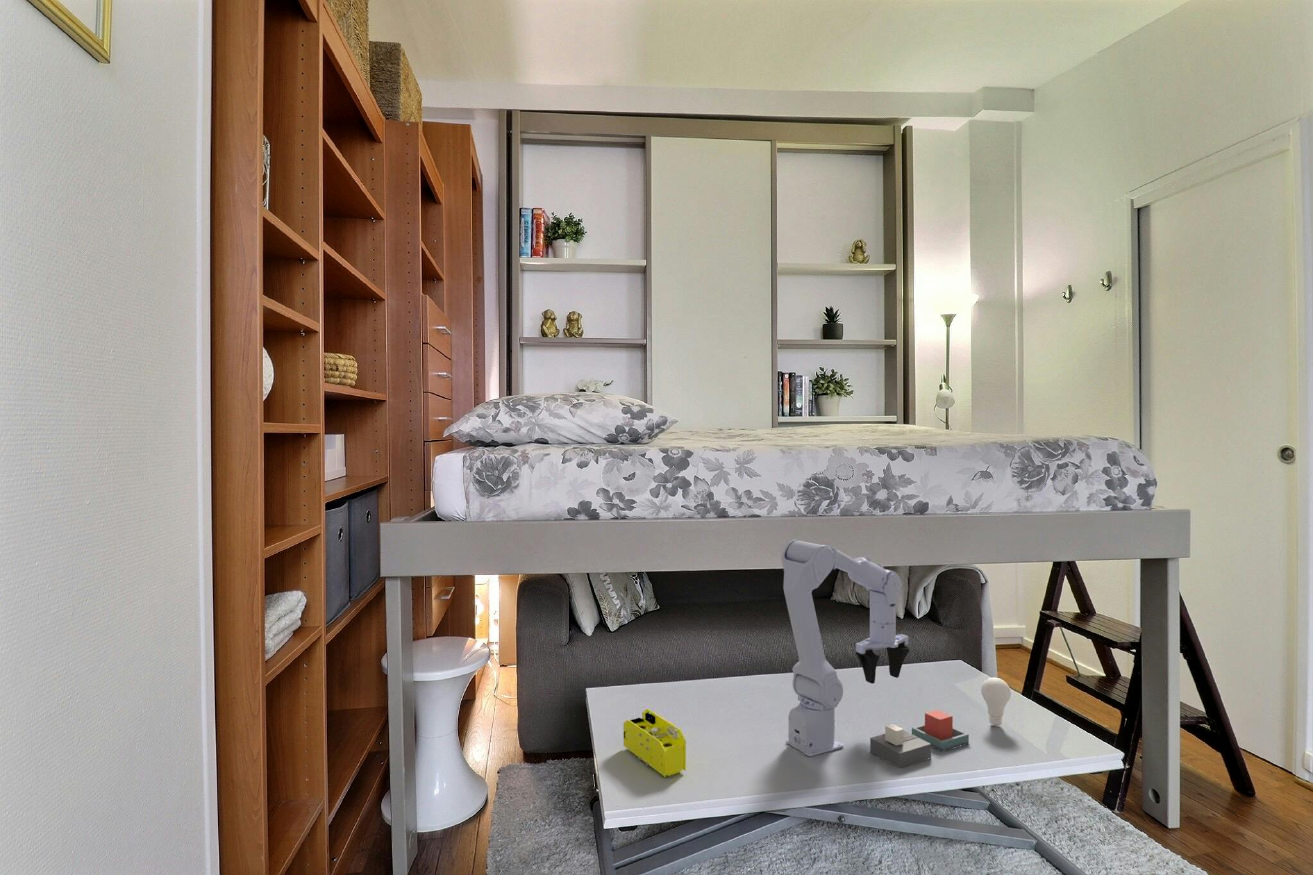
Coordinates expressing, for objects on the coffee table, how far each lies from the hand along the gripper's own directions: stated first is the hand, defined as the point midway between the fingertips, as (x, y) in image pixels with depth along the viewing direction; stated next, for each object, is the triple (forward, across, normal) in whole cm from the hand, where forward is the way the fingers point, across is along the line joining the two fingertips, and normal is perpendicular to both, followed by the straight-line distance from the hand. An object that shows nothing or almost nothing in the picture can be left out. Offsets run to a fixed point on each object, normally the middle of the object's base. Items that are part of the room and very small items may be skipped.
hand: (882, 679), depth 167 cm
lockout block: (+9, +4, -13) cm, 16 cm away
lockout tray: (+10, +4, -13) cm, 17 cm away
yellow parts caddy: (+10, -55, +8) cm, 57 cm away
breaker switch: (+7, -11, -14) cm, 19 cm away
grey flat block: (+10, -9, -14) cm, 19 cm away
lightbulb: (+10, +21, -14) cm, 27 cm away
